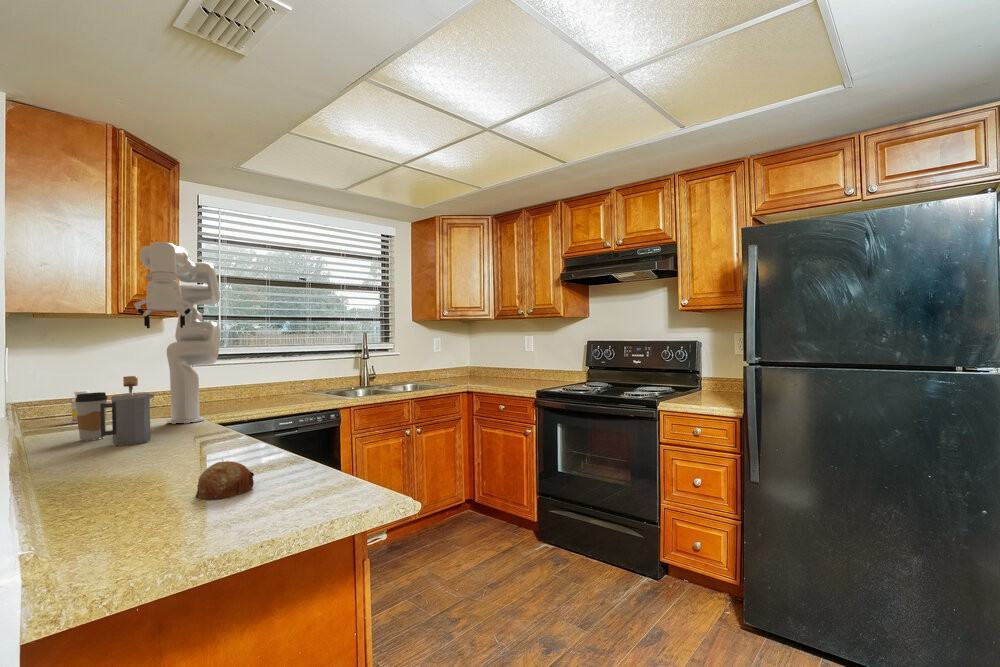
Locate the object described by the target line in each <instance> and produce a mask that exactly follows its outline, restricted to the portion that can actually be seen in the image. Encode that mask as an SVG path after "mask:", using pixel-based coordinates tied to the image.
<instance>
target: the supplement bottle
mask: <svg viewBox="0 0 1000 667" xmlns="http://www.w3.org/2000/svg"><path fill="white" fill-rule="evenodd" d="M84 393H90V390H89V389H88V390H78V391H77V390H76V391H74V393H73V394H74V397H73V398H72V399H71V419H72V420H71V422H72V423H73V424H78V420H77V407H76V402H75V400H76V398H77V394H84Z"/></svg>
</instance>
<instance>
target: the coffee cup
mask: <svg viewBox="0 0 1000 667" xmlns="http://www.w3.org/2000/svg"><path fill="white" fill-rule="evenodd" d="M107 400H108V395H106V392H89V393H84V394H77V398H76V400H75V402H76V407H77V420H78V423H77V426H78V428H77V429H78V433H79V434H78V435H79V439H80V441H81V440H91V441H94V440H93V439H98V440H100V439H99V438H103V437H101V415H100V403H108V402H107ZM105 410H106V411H107V408H105ZM103 439H104V438H103Z"/></svg>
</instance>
